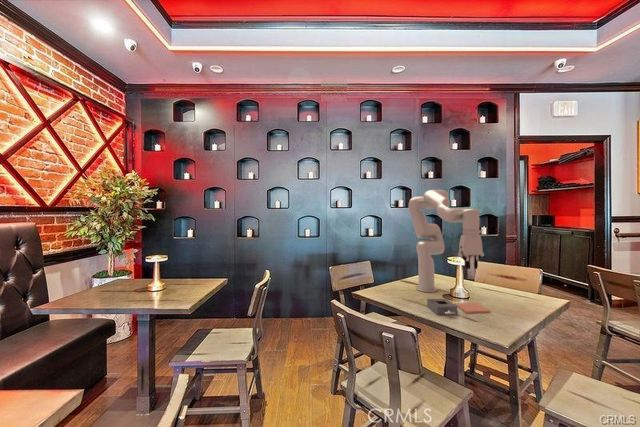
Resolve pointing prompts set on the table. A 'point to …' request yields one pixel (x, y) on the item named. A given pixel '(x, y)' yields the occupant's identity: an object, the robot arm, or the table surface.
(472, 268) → the steel peg
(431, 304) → the vise block
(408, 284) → the table surface
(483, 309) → the terracotta mat
